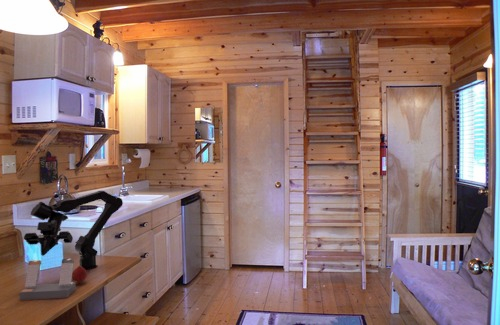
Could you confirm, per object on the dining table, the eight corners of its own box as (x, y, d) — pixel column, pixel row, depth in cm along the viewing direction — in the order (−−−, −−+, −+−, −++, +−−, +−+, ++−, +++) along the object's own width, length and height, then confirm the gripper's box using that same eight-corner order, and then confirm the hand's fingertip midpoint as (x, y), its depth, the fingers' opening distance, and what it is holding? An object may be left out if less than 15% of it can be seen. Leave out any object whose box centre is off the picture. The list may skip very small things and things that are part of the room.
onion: (83, 279, 156) (82, 262, 156) (89, 282, 153) (88, 264, 152) (70, 283, 152) (69, 265, 152) (76, 286, 148) (75, 268, 148)
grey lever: (60, 284, 141) (64, 259, 145) (71, 284, 142) (74, 258, 145) (58, 284, 140) (61, 259, 143) (69, 284, 140) (72, 258, 143)
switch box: (30, 292, 144) (30, 284, 143) (75, 289, 145) (75, 281, 145) (19, 300, 136) (19, 291, 135) (67, 297, 137) (67, 289, 137)
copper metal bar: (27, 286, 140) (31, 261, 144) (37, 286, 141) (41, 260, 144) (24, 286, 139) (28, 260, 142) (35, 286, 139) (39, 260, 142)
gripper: (24, 215, 153) (10, 246, 142) (68, 213, 154) (58, 244, 144) (35, 228, 161) (22, 259, 150) (77, 227, 163) (67, 257, 152)
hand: (42, 255), depth 149 cm, fingers closed
